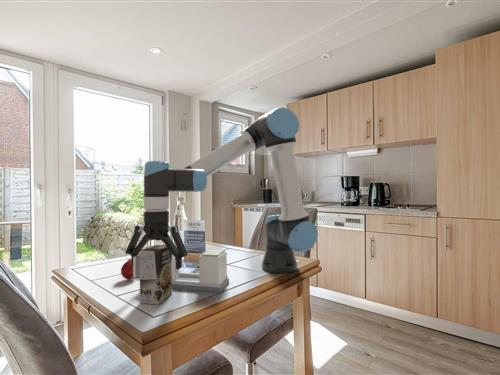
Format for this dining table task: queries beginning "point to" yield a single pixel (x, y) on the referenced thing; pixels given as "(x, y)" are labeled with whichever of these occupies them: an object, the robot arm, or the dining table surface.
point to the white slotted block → (205, 273)
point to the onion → (127, 270)
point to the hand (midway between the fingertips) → (156, 277)
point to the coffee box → (155, 274)
